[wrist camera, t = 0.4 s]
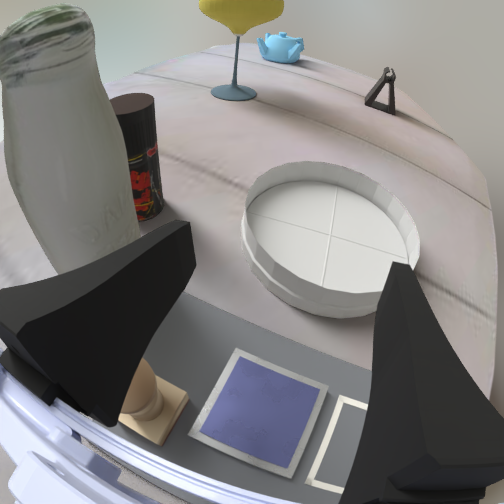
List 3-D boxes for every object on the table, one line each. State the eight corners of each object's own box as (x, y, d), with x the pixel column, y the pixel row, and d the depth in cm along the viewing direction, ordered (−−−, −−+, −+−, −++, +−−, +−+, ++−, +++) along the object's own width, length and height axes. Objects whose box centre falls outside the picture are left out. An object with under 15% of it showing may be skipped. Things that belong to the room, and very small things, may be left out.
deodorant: (169, 194, 42) (162, 93, 30) (154, 224, 38) (139, 115, 27) (132, 189, 42) (117, 93, 31) (114, 217, 38) (90, 114, 27)
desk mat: (389, 554, 15) (393, 556, 14) (85, 437, 21) (81, 436, 20) (438, 396, 26) (442, 394, 26) (180, 293, 32) (179, 289, 32)
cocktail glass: (232, 77, 76) (239, -6, 57) (285, 96, 70) (300, 2, 51) (180, 92, 67) (182, -5, 47) (235, 114, 60) (246, -2, 41)
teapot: (297, 67, 90) (302, 39, 82) (253, 60, 91) (257, 31, 83) (302, 59, 100) (306, 34, 91) (263, 52, 101) (266, 27, 93)
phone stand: (364, 104, 74) (375, 66, 65) (364, 98, 78) (374, 62, 68) (394, 115, 72) (407, 77, 63) (393, 108, 76) (405, 73, 67)
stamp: (162, 446, 21) (136, 434, 15) (114, 416, 22) (73, 389, 16) (189, 399, 24) (177, 368, 18) (141, 372, 25) (114, 331, 19)
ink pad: (288, 478, 21) (292, 478, 19) (189, 436, 22) (187, 434, 21) (324, 389, 26) (329, 385, 25) (235, 352, 28) (236, 346, 27)
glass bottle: (119, 325, 29) (15, 16, 7) (51, 288, 30) (-48, 48, 9) (164, 255, 35) (140, -14, 14) (98, 230, 36) (50, 5, 15)
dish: (265, 173, 48) (269, 145, 44) (400, 213, 45) (412, 188, 41) (213, 287, 33) (213, 257, 30) (404, 340, 31) (427, 318, 27)
